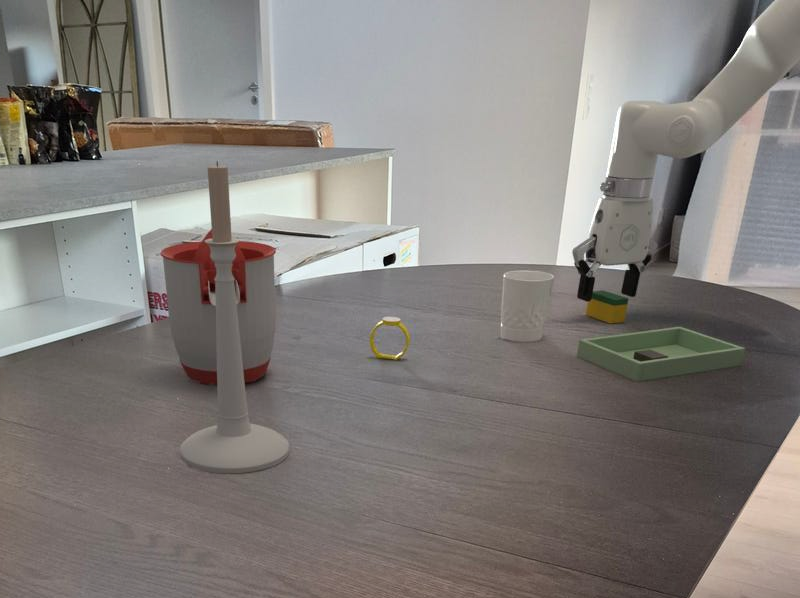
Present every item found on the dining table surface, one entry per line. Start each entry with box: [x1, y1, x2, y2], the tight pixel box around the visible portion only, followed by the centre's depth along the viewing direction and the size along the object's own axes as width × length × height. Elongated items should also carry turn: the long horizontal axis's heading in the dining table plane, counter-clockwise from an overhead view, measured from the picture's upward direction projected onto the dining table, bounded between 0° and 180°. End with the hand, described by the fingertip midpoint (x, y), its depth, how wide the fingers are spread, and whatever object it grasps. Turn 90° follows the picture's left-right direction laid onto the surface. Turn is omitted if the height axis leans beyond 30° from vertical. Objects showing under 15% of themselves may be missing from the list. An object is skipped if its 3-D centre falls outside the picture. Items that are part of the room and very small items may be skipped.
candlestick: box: [179, 160, 290, 474], centre depth 91 cm, size 13×13×30 cm
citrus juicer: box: [160, 228, 277, 386], centre depth 118 cm, size 16×17×20 cm
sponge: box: [585, 289, 629, 325], centre depth 151 cm, size 3×7×4 cm, turn 23°
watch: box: [369, 316, 411, 361], centre depth 130 cm, size 6×3×6 cm, turn 77°
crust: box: [633, 350, 668, 362], centre depth 127 cm, size 3×4×1 cm
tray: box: [576, 326, 746, 383], centre depth 128 cm, size 20×14×3 cm
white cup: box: [499, 269, 555, 343], centre depth 137 cm, size 8×8×10 cm
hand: (606, 297), depth 150 cm, fingers open, 9 cm apart
